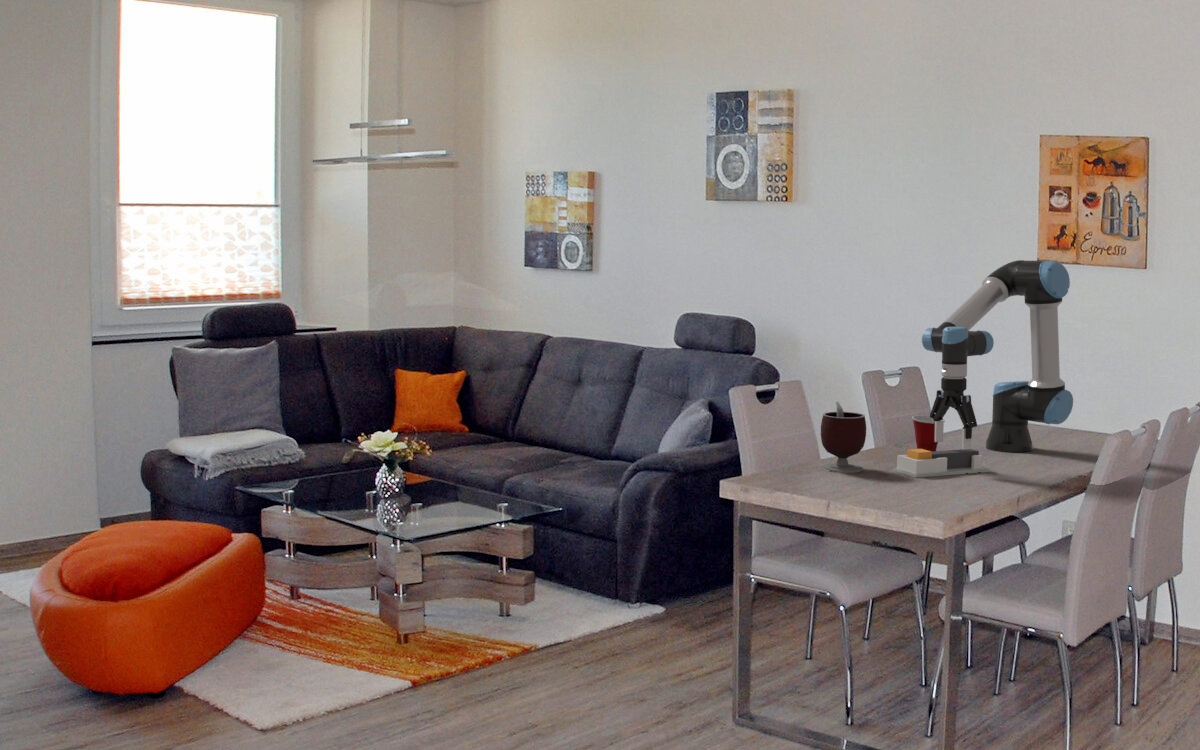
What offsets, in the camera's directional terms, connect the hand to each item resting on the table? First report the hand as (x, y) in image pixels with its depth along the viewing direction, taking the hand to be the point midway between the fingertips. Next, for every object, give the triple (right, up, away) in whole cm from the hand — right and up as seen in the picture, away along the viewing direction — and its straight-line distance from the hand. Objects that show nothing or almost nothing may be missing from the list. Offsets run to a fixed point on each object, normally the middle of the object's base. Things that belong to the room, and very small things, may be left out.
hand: (952, 445), depth 388 cm
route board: (-3, -8, 0) cm, 9 cm away
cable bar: (-3, -7, 0) cm, 8 cm away
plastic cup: (0, -5, +31) cm, 32 cm away
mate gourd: (-34, -8, +3) cm, 35 cm away
